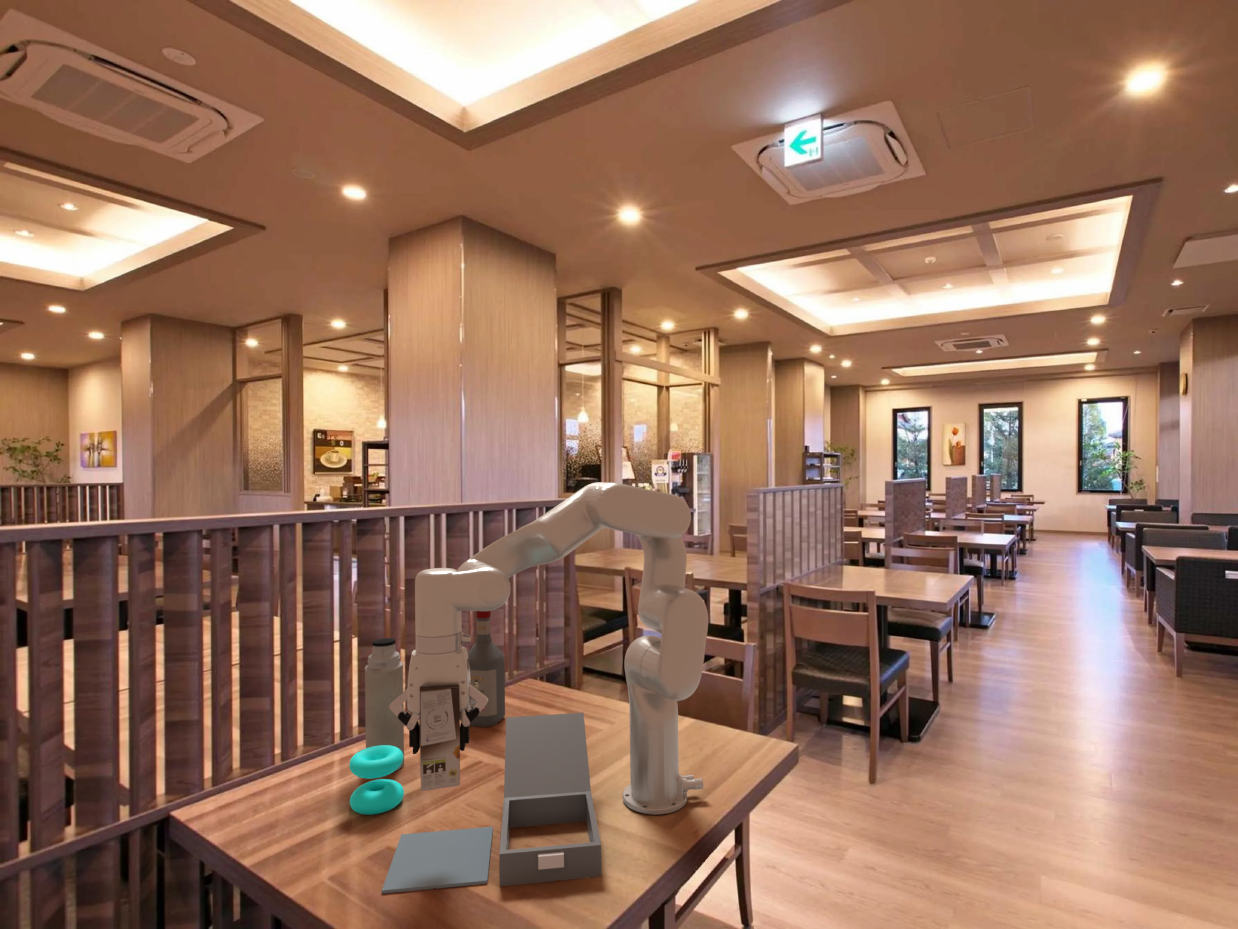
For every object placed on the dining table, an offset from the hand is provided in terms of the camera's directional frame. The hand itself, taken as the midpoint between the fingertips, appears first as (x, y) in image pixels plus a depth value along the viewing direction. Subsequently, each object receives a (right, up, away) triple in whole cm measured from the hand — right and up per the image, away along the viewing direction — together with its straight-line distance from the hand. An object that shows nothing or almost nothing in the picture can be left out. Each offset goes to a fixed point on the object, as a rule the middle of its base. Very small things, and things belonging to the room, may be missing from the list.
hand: (439, 748), depth 112 cm
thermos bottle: (-22, -19, +35) cm, 46 cm away
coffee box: (0, -5, 0) cm, 5 cm away
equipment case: (+18, -18, +2) cm, 26 cm away
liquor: (-5, -19, +62) cm, 65 cm away
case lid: (+16, -9, +19) cm, 26 cm away
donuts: (-17, -19, +19) cm, 32 cm away
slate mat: (0, -18, 0) cm, 18 cm away
